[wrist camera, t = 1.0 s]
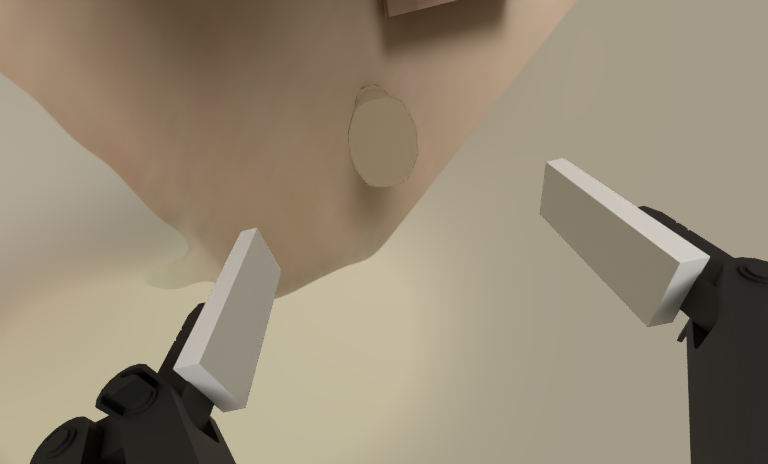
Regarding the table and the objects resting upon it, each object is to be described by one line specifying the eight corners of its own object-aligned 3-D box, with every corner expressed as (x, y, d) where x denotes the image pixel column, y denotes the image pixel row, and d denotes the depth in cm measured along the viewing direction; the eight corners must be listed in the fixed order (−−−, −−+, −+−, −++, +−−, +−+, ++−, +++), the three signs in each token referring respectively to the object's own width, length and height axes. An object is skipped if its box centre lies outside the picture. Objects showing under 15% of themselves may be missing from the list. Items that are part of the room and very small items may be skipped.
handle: (390, 63, 32) (414, 93, 20) (395, 125, 36) (419, 182, 24) (344, 70, 32) (341, 104, 20) (354, 131, 36) (357, 191, 23)
